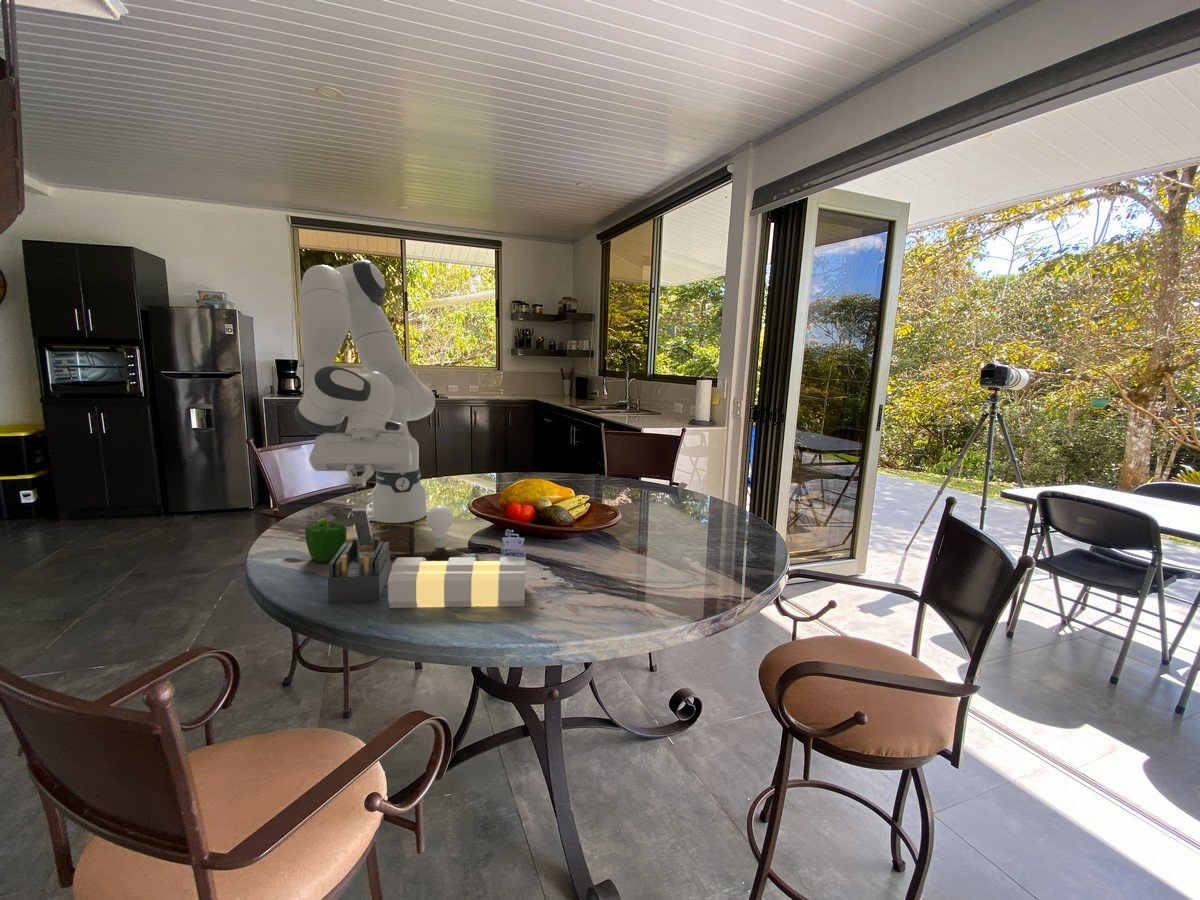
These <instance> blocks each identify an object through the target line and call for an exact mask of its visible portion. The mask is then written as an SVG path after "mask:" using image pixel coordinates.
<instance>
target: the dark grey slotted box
mask: <svg viewBox="0 0 1200 900" xmlns="http://www.w3.org/2000/svg"><path fill="white" fill-rule="evenodd" d="M380 539H381V537H380V536H374V537H373V552H360V545H359V540H358V536H354V537H353V538H352V541H351V542H345V543H344V544H343V545H342V547H341V548H340V549H339V551H338V552H337V553H336V555H335V556H334V557H333V559H332V560H331V561H329V562H328V576H327V603H328V602H336V603H351V602H352V603H354V602H355V601H357V602H372V601H373V602H375V601H380V600H381V598H382V596H383V593H384V590H385V588H386V585H387V584H388V579H389V574H390V572H391V552H390V545H389V544H390V543H389V542H390V541H385V542H384V541H381V540H380Z"/></svg>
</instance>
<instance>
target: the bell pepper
mask: <svg viewBox="0 0 1200 900" xmlns="http://www.w3.org/2000/svg"><path fill="white" fill-rule="evenodd" d="M304 532H305V542H306V546H307V549H308V552H309V556H310V557H311V558H312V559H313V560H315V561H316V562H319V563H326V562H328V563H330V562H331V560H332V559H333V557H334V556H335V555H336V553H337V552H338V551H339V549H340V548H341V547H342V545H343V544H344V543H347V528H346V526H345V524H342V523H340V522H339V521H333V522H330V523H328V521H327V518H325V517H322V518H320V519H319V521H316V522H315V523H313V524H312V525H308V526H306V528H305V531H304Z"/></svg>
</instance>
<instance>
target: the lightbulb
mask: <svg viewBox="0 0 1200 900" xmlns="http://www.w3.org/2000/svg"><path fill="white" fill-rule="evenodd" d="M429 509H430V510H429V511H428V513H427V516H426V522H427V525H428V526H429V528H430V530H431V532H432V535H433V537H434V538H433V539H434V543H433V544H434V547H435V548H437V549H439V550H441V549H443V548H445V547H446V544H447V543H446V539H447V535H448V531H449V529H450V528H451V527H452V524H453V522H454V512H453V510H452V509H451V507H448V506H447V505H444V504H435V505H434V506H432V507H431V508H429Z"/></svg>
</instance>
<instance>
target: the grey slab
mask: <svg viewBox="0 0 1200 900" xmlns="http://www.w3.org/2000/svg"><path fill="white" fill-rule="evenodd" d="M366 508H367V507H352V508H351V513H352V519H353V522H354V527H355V531H356V535H357V536H356V537H358V540H359V546H374V538H373V535H372V529H371V525H370V521H369V519H368V514H367V509H366Z"/></svg>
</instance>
